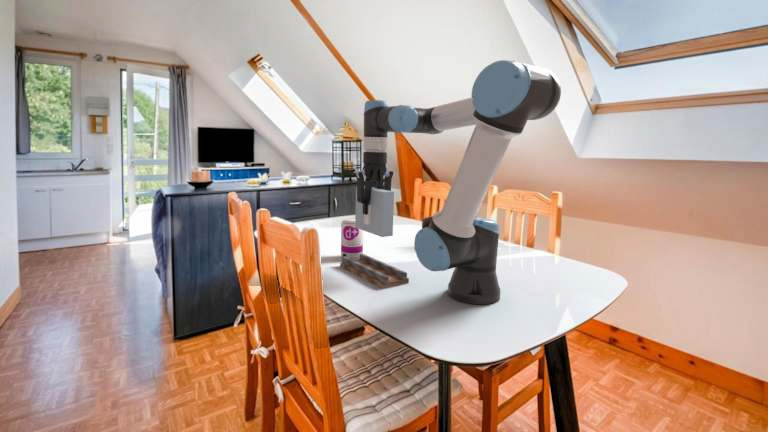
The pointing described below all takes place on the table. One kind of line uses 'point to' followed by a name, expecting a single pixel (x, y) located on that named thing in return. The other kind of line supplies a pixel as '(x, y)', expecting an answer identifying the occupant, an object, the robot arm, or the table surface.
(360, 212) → the sliding panel
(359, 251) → the supplement can
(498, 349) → the table surface
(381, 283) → the floor track
